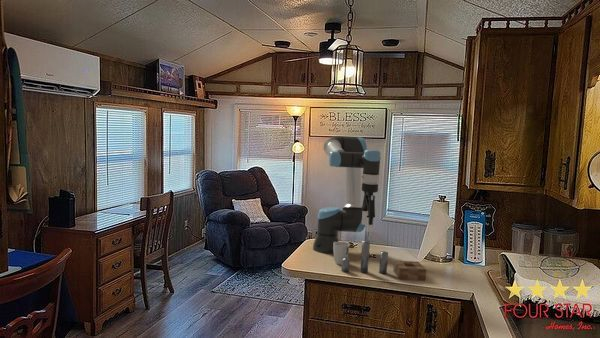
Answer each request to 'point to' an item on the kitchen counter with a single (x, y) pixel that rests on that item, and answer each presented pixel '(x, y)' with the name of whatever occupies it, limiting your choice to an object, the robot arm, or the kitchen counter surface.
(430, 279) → the kitchen counter surface
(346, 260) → the pin short
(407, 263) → the hole block
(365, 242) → the pin long
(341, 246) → the cup
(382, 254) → the pin medium
